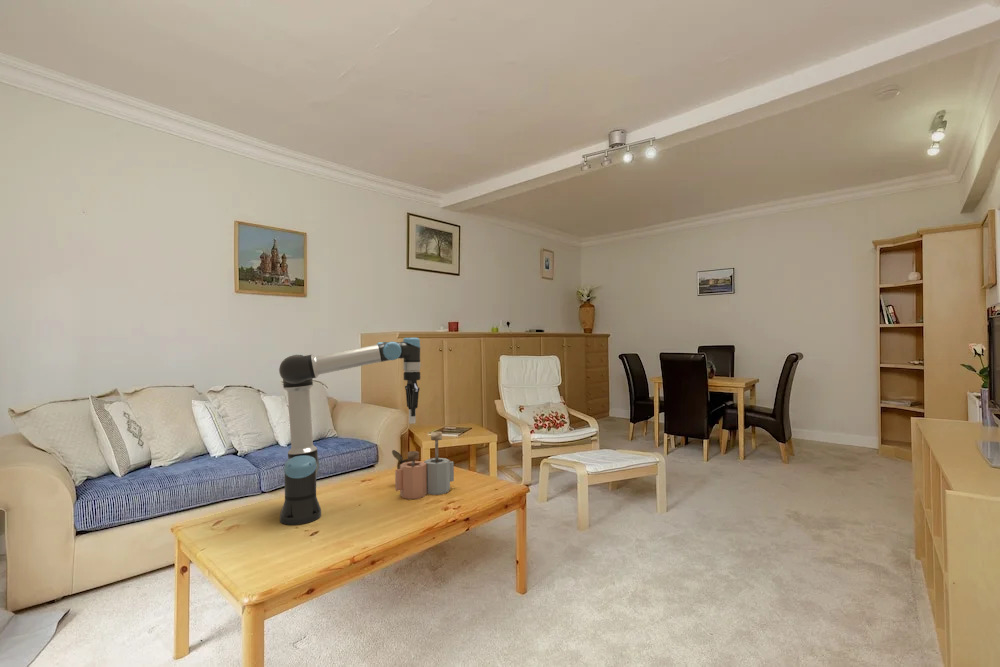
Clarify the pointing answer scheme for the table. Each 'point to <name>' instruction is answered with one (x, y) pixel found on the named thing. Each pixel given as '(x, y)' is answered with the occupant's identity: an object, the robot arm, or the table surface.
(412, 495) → the pink octagonal mug
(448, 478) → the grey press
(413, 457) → the taupe plunger
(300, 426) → the robot arm
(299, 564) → the table surface
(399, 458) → the wooden mug
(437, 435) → the grey plunger
